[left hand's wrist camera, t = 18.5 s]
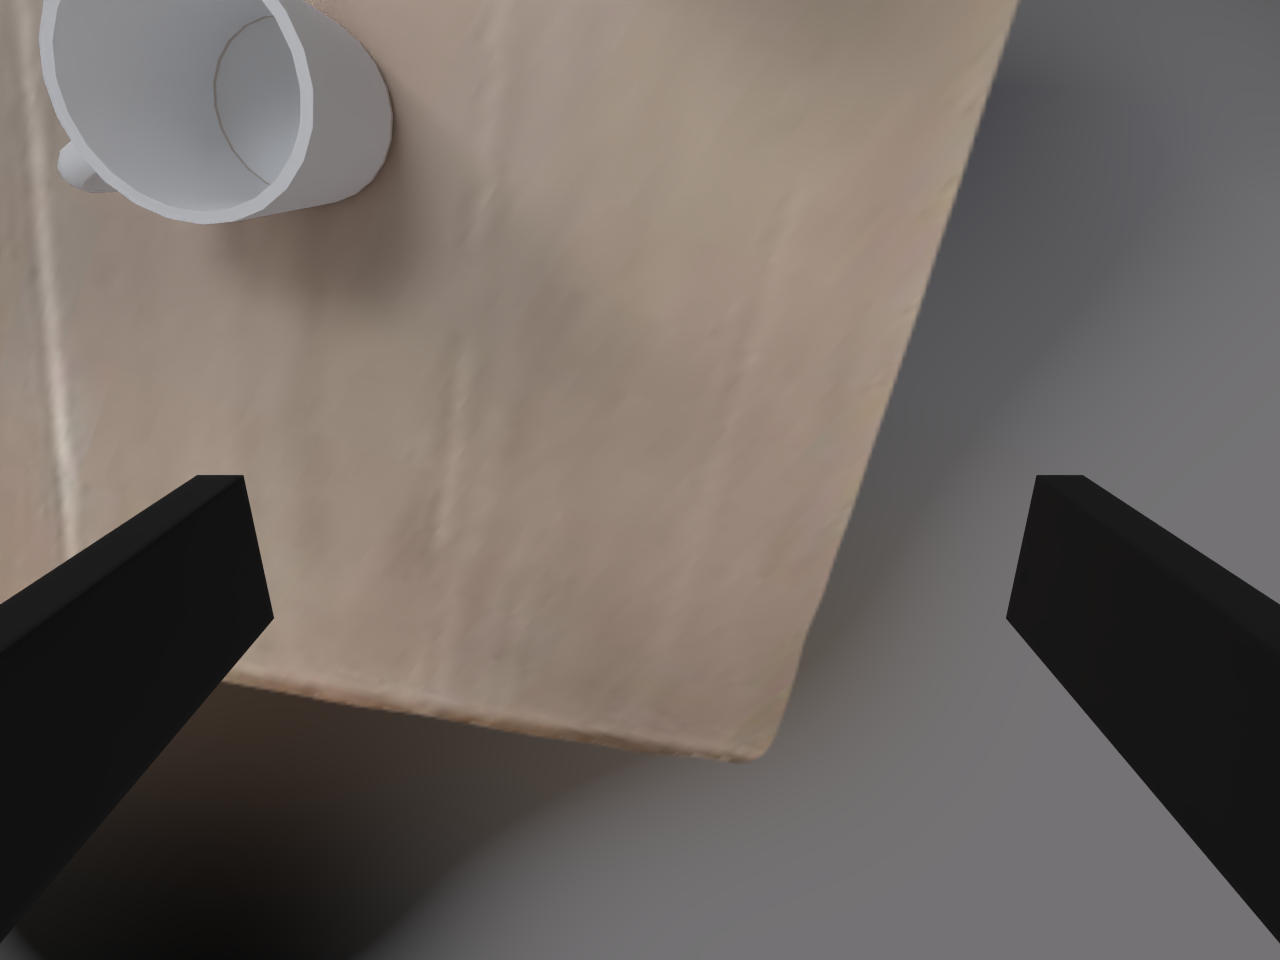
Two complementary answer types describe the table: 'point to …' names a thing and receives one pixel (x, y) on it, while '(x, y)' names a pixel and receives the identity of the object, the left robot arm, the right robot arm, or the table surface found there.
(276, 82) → the mug
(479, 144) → the table surface
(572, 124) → the table surface
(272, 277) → the table surface
